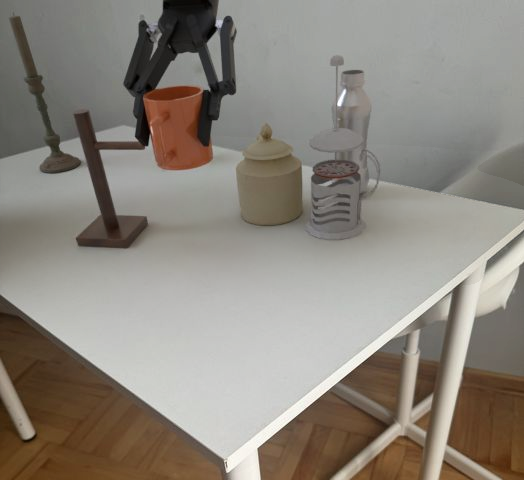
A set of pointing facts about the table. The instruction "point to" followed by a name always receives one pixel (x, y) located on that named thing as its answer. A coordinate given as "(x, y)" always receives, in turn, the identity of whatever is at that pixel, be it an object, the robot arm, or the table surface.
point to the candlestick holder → (41, 104)
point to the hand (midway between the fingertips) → (171, 141)
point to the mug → (176, 127)
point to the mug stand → (105, 191)
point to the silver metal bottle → (353, 120)
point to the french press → (337, 182)
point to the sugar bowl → (269, 181)
